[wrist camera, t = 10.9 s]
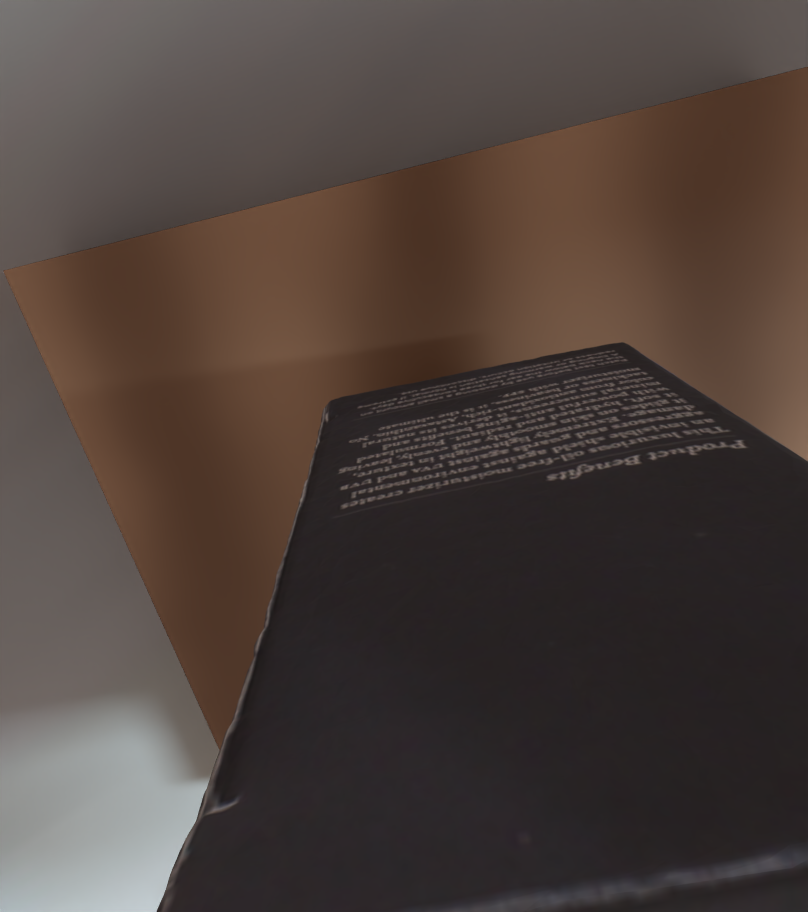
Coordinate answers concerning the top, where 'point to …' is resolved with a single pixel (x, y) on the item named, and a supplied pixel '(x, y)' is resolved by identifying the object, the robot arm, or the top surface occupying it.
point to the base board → (415, 323)
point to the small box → (524, 660)
